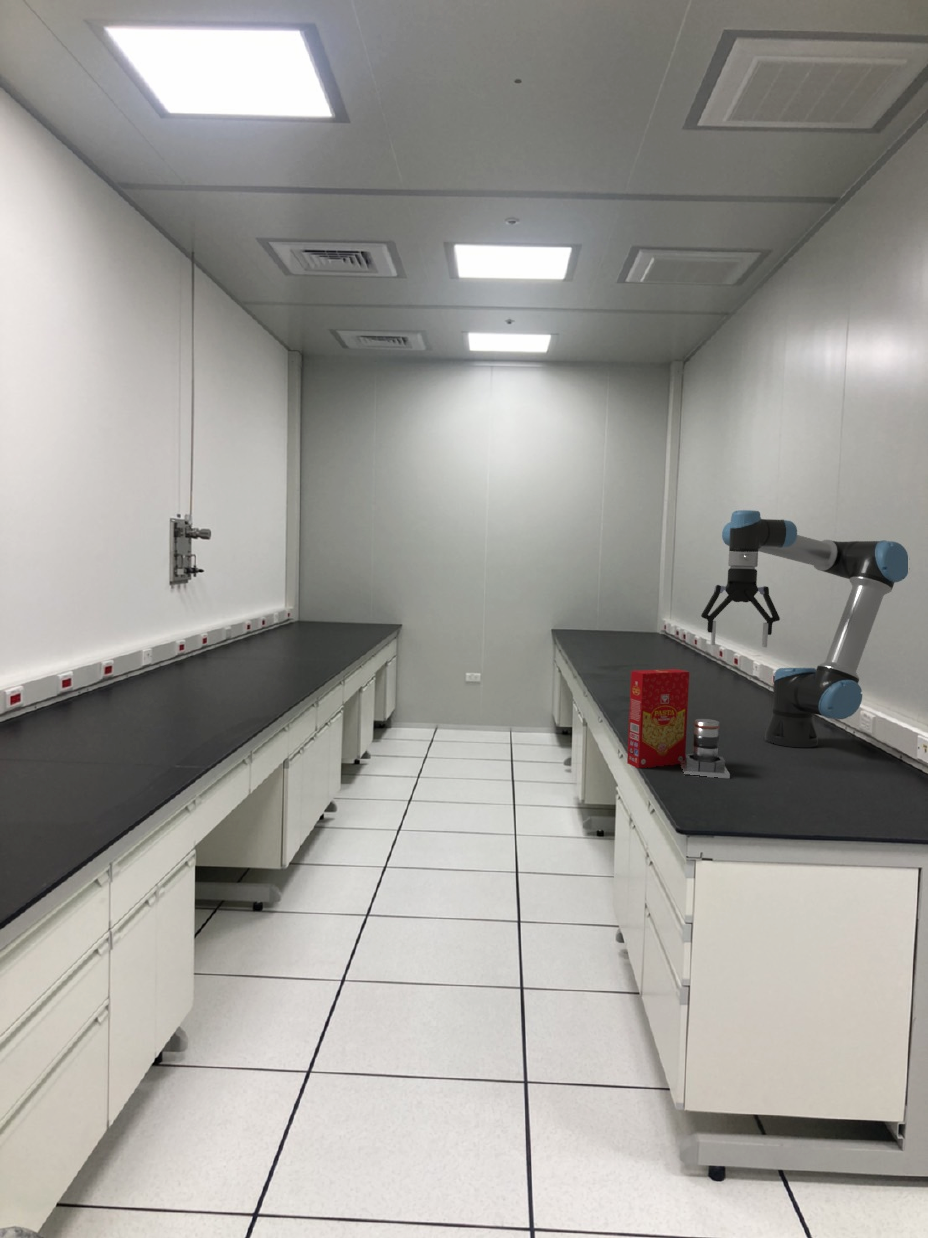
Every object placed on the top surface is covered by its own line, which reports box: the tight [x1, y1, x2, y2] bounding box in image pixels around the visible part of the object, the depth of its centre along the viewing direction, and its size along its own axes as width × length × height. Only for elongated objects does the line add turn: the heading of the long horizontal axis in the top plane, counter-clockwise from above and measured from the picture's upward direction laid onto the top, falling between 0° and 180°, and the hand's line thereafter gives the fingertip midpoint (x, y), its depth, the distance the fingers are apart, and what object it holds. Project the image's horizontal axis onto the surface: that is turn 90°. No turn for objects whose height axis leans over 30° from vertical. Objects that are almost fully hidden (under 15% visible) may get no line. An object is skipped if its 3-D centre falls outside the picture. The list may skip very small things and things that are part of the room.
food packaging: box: [626, 668, 690, 769], centre depth 217 cm, size 15×5×25 cm, turn 112°
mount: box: [679, 752, 731, 779], centre depth 211 cm, size 11×11×4 cm
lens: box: [692, 718, 720, 762], centre depth 211 cm, size 6×6×12 cm
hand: (738, 645), depth 222 cm, fingers open, 13 cm apart
